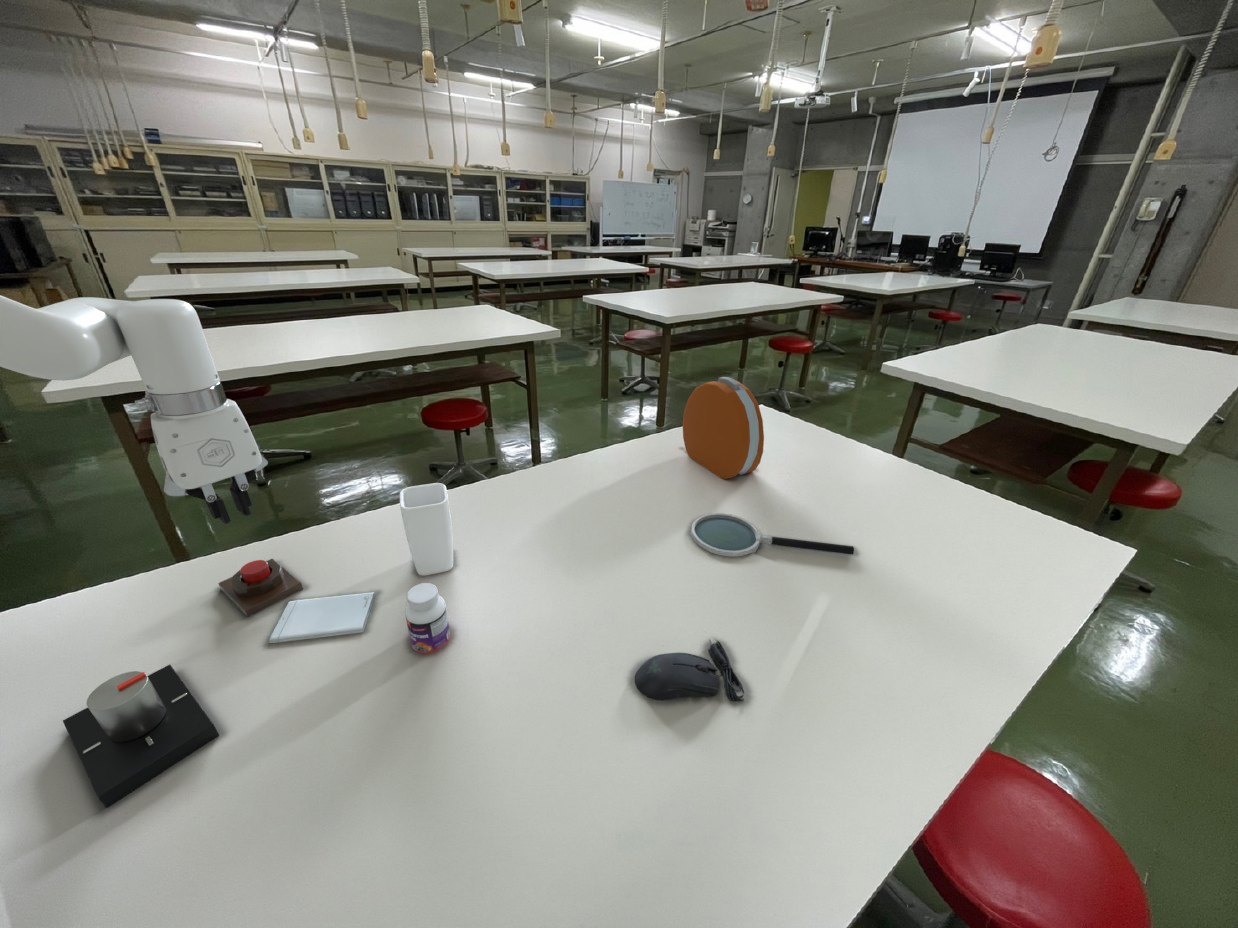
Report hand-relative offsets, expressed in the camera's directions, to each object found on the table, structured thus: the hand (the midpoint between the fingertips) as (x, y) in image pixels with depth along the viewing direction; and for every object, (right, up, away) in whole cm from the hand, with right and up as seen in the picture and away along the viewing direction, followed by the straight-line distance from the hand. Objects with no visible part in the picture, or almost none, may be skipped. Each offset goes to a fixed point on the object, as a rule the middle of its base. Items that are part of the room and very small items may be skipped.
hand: (234, 515), depth 74 cm
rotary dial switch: (+1, -25, -15) cm, 29 cm away
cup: (+25, -11, +14) cm, 31 cm away
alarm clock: (+83, +8, +55) cm, 100 cm away
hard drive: (+13, -17, +2) cm, 21 cm away
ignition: (-1, -13, +7) cm, 15 cm away
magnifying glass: (+87, -8, +24) cm, 90 cm away
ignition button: (0, -10, +5) cm, 11 cm away
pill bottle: (+30, -19, -1) cm, 35 cm away
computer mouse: (+66, -23, -5) cm, 70 cm away
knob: (+2, -22, -16) cm, 28 cm away
